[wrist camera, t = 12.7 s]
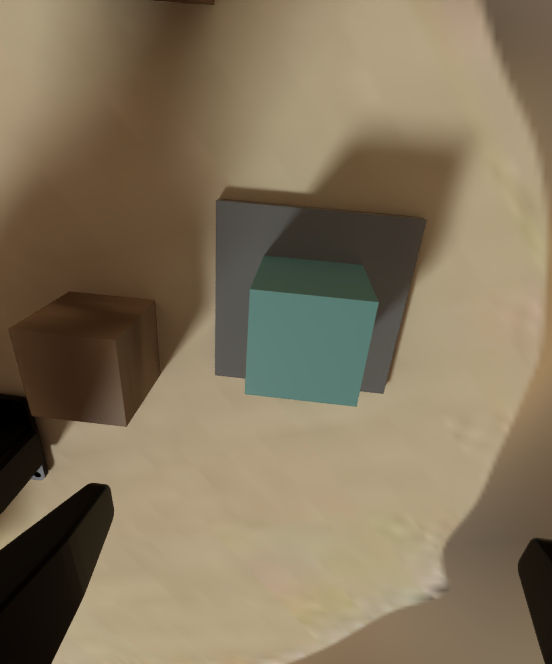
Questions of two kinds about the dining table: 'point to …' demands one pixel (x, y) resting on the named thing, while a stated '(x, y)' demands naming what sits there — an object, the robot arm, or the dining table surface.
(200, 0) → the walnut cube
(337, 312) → the teal cube
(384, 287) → the slate tile
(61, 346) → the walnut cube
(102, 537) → the robot arm
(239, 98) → the dining table surface
